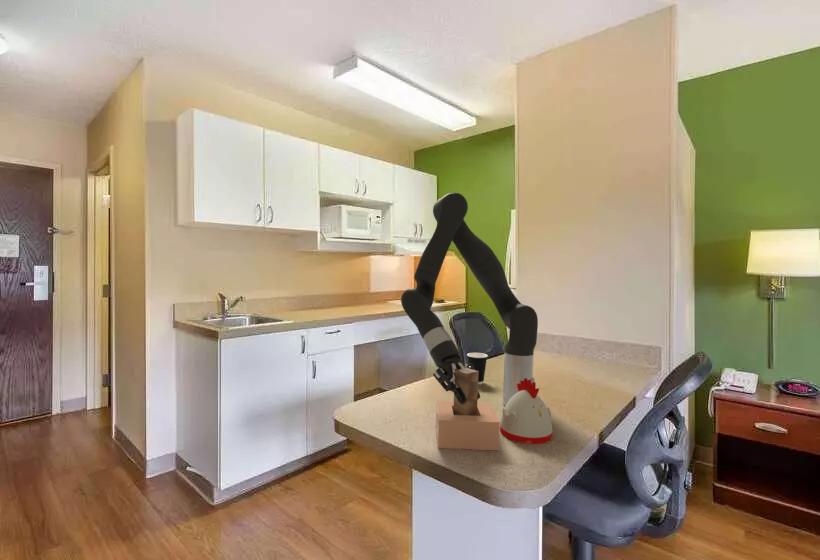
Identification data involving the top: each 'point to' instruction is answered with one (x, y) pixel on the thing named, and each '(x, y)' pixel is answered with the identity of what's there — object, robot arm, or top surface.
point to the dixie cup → (478, 364)
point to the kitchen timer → (526, 416)
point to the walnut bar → (467, 392)
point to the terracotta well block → (467, 427)
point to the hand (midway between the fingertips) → (471, 400)
